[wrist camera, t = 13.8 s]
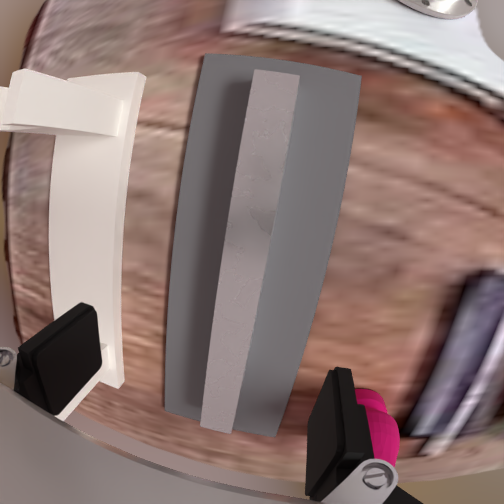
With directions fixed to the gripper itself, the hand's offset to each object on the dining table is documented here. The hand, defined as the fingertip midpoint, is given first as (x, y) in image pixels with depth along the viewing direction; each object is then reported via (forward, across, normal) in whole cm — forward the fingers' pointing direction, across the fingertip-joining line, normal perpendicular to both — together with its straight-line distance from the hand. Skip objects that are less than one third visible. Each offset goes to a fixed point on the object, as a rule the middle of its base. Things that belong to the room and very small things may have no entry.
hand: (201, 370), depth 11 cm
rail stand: (+14, +16, +1) cm, 21 cm away
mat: (+14, 0, +1) cm, 14 cm away
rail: (+13, 0, +1) cm, 13 cm away
